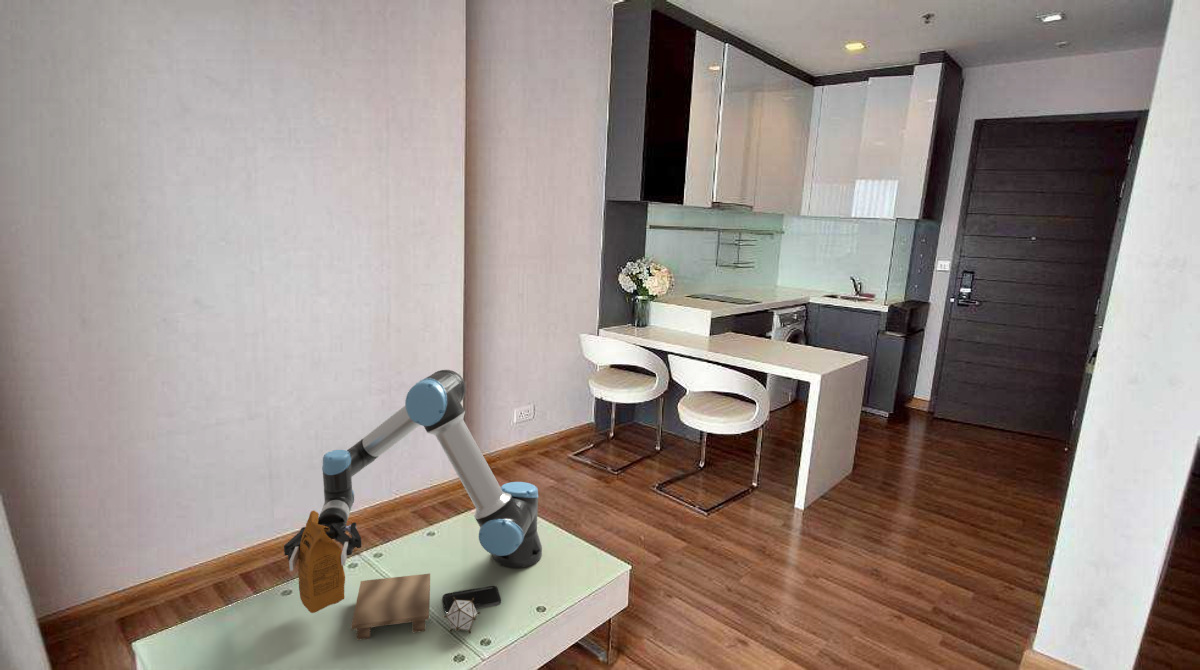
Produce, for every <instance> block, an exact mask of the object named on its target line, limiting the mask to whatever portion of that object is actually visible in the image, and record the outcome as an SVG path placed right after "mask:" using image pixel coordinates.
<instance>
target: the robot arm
mask: <svg viewBox="0 0 1200 670" xmlns="http://www.w3.org/2000/svg"><path fill="white" fill-rule="evenodd" d="M466 389H467V387H466V383H465V380H464V378H463V377H462V375H460V374H459V373H457V372H456V371H454V370H450V369H441V370H438V371H435V372H434V373H432V374H430V375H428V376H427V377H425V378H423V379H420V380H419V381H418V382H416V383H415V384H414V385H413V386H412V387H411V388H410V389H409V390H408V392H407V394H406V396H405V397H406V398H405V401H404V402H405V404H404V406H402V407H401V408H400V409H399V410H398V411H396V412H395V413H394V414H393V415H391V416H390V417H388V418H387V419H386V420H385V421H383V422H381V424H379V425H378V426H377V427H376V428H375V429H373V430H372V431H371V432H369V433H368V434H367V435H366V436H364V437H363V438H361V439H360V440H359V441H357V442H356V443H355V444H354V445H352V446H351V447H349V448H348V449H334V450H332V451H327V452H326V453H325V454H324V455H323V457H322V478H323V479H322V480H323V481H322V482H323V496H324V503H323V505H322V506H323V507H322V509H321V511H320V513H319V517H318V524H319V525H323V526H326V527H329V529H330V530H329V531H328V532H325V533H326V534H327V536H328V537H329V538H331V539H332V540H334V541H335V542H338V543H341V544H342V545H343V548H342V549H341V552H342V554H341V566H342V565H343V566H345V565H346V562H347V559H348V556H352V555H353V551H354V549H355V548H357V549H361V548H362V537H361V535H360V533H359V531H358V529H357V523H356V522H352V523H351V524H349V525H347V522H348V520H349V517H350V513H351V510H352V506H353V505H354V502H355V492H354V490H353V482H352V479H353V478H352V477H354V476H355V475H356V474H358V473H360V471H361V470H363V469H365V467H367V466H368V465H371V463H373V462H374V461H375V460H377V458H379V457H380V456H381V455H383V454H384V453H385V452H386V451H388V450H389V449H390V448H392V447H393V446H395V445H396V444H398V442H400V441H402V440H403V439H404V438H406V436H408V435H409V434H410V433H412V432H413V431H415V430H416V428H418V427H420V426H423V428H424V429H425V431H426V433H427V434H431V435H434V436H435V437H436V439H437V440H438V443H439V444H440V446H441V448H442V450H443V451H444V453H445V455H446V457H447V458H448V461H449V463H450V464H451V465H452V467H453V470H454V471H455V472H456V475H457V476H458V478H459V480H460V482H461V483H462V486H463V488H464V489H465V491H466V493H467V495H468V496H469V498H470V499H471V501H472V503H473V505H474V507H475V511H474V512H475V513H474V515H473V516H474V520H475V521H476V522H477V524H478V526H479V531H478V541H479V543H480V546H481V548H483V549H484V550H485V551H486V552H487V553H489V554H491V555H492V557H493V560H494V561H495V562H496V563H497V564H499V565H500V566H502V567H504V568H510V569H521V568H522V569H523V568H527V567H530V566H532V565H535V564H536V563H538V562H539V561H540V560H541V558H542V556H543V545H542V543H541V539H540V536H539V533H538V510H539V509H538V508H539V506H538V505H539V489H538V487H537V486H535V484H533V483H530V482H525V481H511V482H506V483H504V484H503V485H501V486H500V484H499V482H498V480H497V478H496V476H495V475H494V472H493V471H492V469H491V468H490V466H489V464H488V462H487V460H486V458H485V457H484V455H483V453H482V451H481V449H480V447H479V446H478V444H477V442H476V440H475V438H474V437H473V434H472V433H471V431H470V429H469V428H468V426H467V424H466V422H465V420H464V417H465V414H466V410H465V408H464V407H463V405H462V401H463V400H464V398H465V396H466V392H467V390H466ZM305 527H306V526H303V527H300V530H299V532H297V534H295V535H294V536H293V537H292V538H291V539H289V540H288V542H286V543H285V544H284V545H283V551H284V553H283V554H284V556H287V559H288V560H287V561H288V564H289V572H293V571H294V570H295V567H296V566H297V564H298V560H299V552H300V542H301V538H302V535H303V532H304V530H305ZM346 532H348V533H349V535H350V536H349V535H348V534H347V533H346Z"/></svg>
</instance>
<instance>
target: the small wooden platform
mask: <svg viewBox="0 0 1200 670" xmlns="http://www.w3.org/2000/svg"><path fill="white" fill-rule="evenodd" d="M430 596H431V573H423V574H422V573H421V574H415V575H414V574H413V575H403V576H394V577H385V578H375V579H366V580H361V581H360V584H359V588H358V593H357V597H356V601H355V606H354V611H353V616H352V620H351V625H350V626H351V629H350V630H356V640H357V639H358V640H357V641H359V640H360V639H361V640H367V639H371V636H372V635H371V634H372V629H373V628H375V627H382V626H390V625H399V624H405V623H406V624H407V623H412V633H413V632H414V633H420V632H425V631H426V621H429V620H430V602H431V601H430V600H431V599H430V598H431V597H430Z"/></svg>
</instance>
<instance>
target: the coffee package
mask: <svg viewBox="0 0 1200 670" xmlns="http://www.w3.org/2000/svg"><path fill="white" fill-rule="evenodd" d="M319 515H320V513H319V512H317V511H316V510H311V511H310V513H309V516H308V519H307V521H306V524H305V526H304V527H305V530H304V532H303V535H302V538H301V542H300V552H299V558H298V561H297V573H298V574H297V575H298V590H299V598H300V601H301V602H302V605H303V607H305V608H306V609H307V610H308V612H310V613H311V614H314V613H318V612H319V611H321V610H323V609H325V608H327V607H329V606H331V605H332V606H333V605H335V604H338V603H340V602H341V601H343V600H344V599H345V597H346V596H345V583H346V575H345V574H346V573H345V569H344V565H342V566H341V554H342V548H341V547H340V546H339V545H338V543H336V541H335V540H334V539H331V538H329V537H328V536H327V534H326V533H325V532H328V531H329V530H330V529H329V527H326V526H323V525H319V524H318V518H319Z"/></svg>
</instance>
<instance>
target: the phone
mask: <svg viewBox="0 0 1200 670" xmlns="http://www.w3.org/2000/svg"><path fill="white" fill-rule="evenodd" d="M453 597H455V599H456V600H472V598H474V600H473V601H472V602H473V604H474V606H475V608H476V610H477V609H484V608H488V607H493V606H495V607H496V606H498V605H501V603H502V599H501V595H500V592H499V588H498V587H497V585H488V586H482V587H478V588H476V587H475V588H472V589H471V588H470V589H466V590H465V589H464V590H460V591H454V592H447V593H444V594H443V595H442V604H443V603H444V605H443V609H444V610H445V611H446V612H448V611H449V609H450V607H451V606H452V604H453V602H454V599H453Z"/></svg>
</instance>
